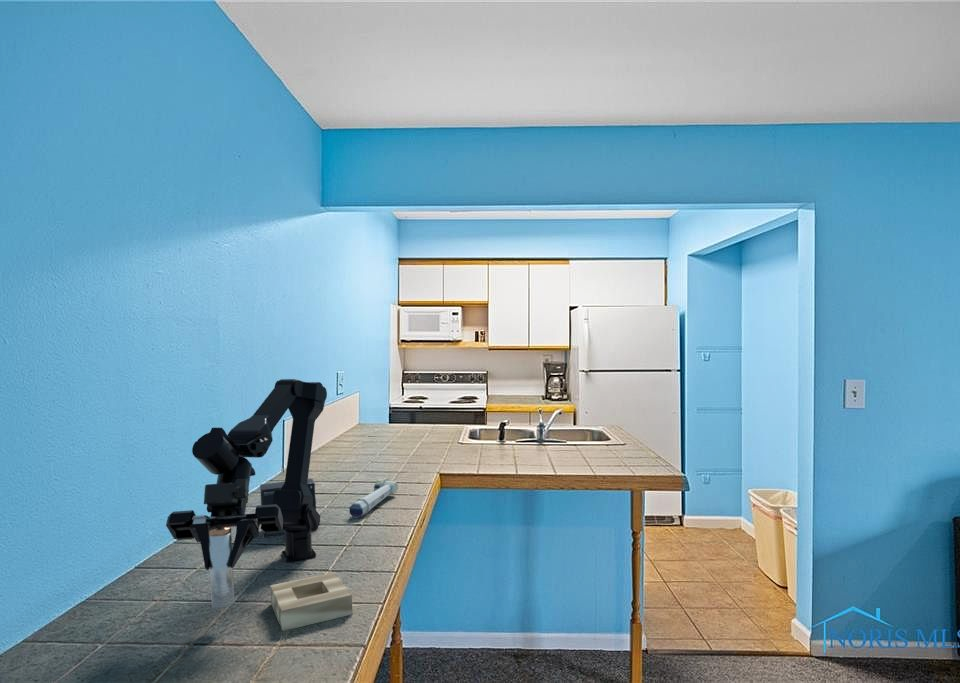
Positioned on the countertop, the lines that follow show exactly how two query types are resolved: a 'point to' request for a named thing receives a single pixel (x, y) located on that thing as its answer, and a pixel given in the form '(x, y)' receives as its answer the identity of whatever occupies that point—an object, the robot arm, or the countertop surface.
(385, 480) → the white blue cylinder
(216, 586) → the copper capped silver cylinder
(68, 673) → the countertop surface
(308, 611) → the socket block
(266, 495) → the small box
